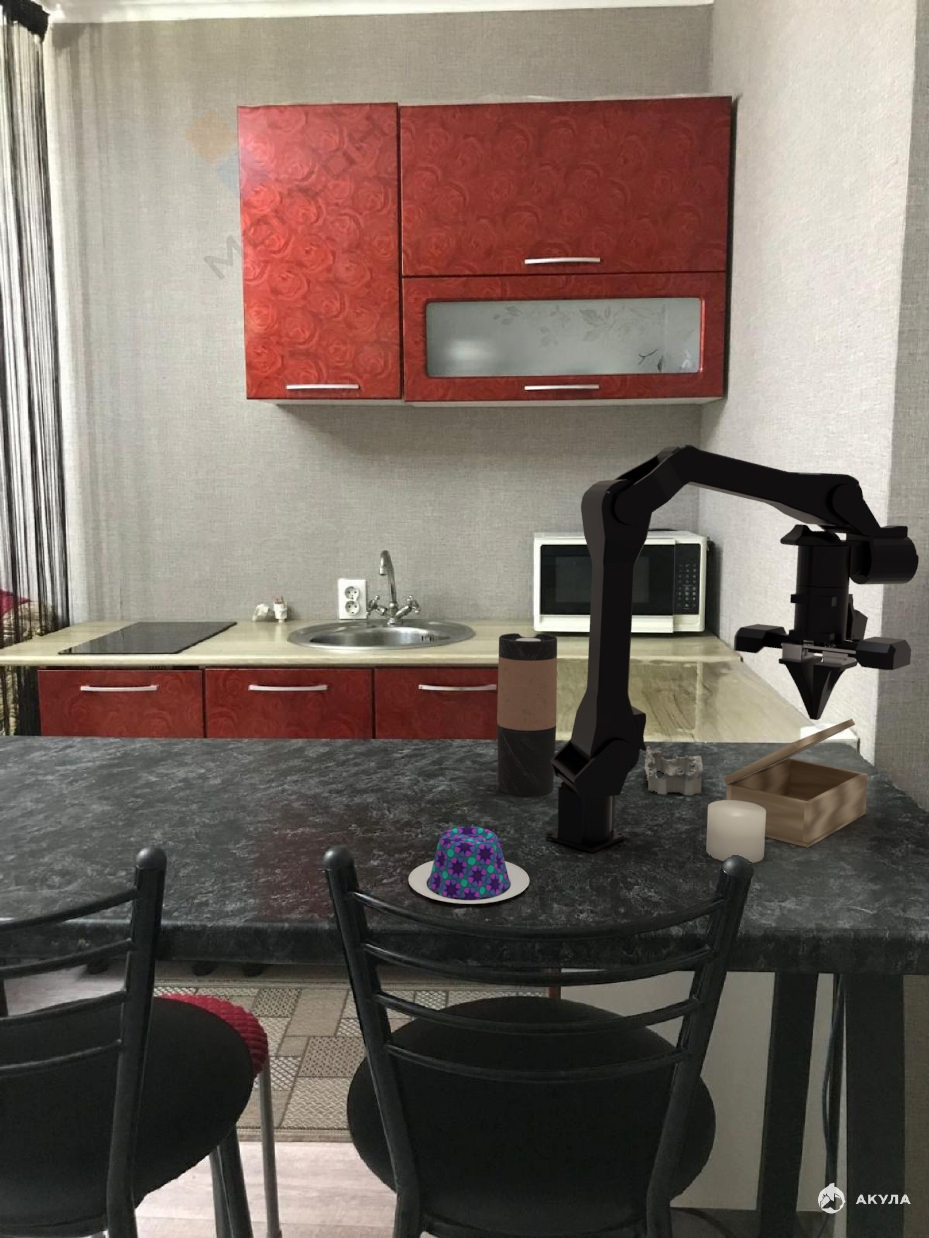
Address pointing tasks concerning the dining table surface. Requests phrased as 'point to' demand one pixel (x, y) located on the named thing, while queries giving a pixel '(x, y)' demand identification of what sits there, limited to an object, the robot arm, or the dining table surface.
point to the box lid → (788, 751)
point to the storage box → (803, 799)
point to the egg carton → (673, 773)
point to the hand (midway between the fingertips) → (814, 719)
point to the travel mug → (526, 713)
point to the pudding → (469, 869)
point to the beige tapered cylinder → (736, 830)
